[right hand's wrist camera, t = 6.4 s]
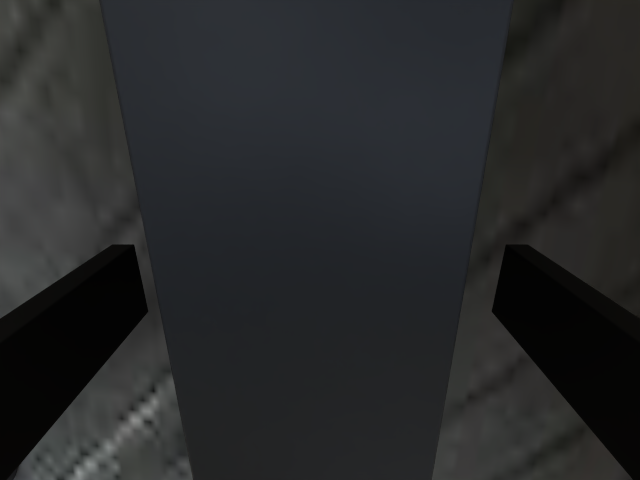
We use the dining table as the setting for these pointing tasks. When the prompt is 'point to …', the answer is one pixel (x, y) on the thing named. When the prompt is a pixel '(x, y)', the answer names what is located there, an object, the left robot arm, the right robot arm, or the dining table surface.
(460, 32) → the bar
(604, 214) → the dining table surface
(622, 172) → the dining table surface
